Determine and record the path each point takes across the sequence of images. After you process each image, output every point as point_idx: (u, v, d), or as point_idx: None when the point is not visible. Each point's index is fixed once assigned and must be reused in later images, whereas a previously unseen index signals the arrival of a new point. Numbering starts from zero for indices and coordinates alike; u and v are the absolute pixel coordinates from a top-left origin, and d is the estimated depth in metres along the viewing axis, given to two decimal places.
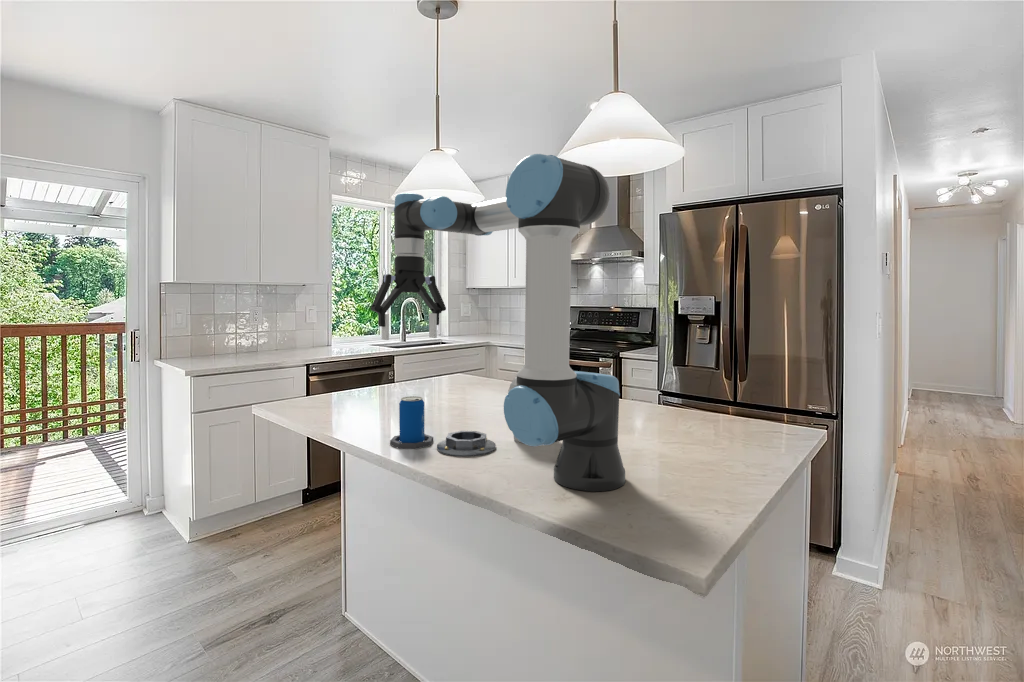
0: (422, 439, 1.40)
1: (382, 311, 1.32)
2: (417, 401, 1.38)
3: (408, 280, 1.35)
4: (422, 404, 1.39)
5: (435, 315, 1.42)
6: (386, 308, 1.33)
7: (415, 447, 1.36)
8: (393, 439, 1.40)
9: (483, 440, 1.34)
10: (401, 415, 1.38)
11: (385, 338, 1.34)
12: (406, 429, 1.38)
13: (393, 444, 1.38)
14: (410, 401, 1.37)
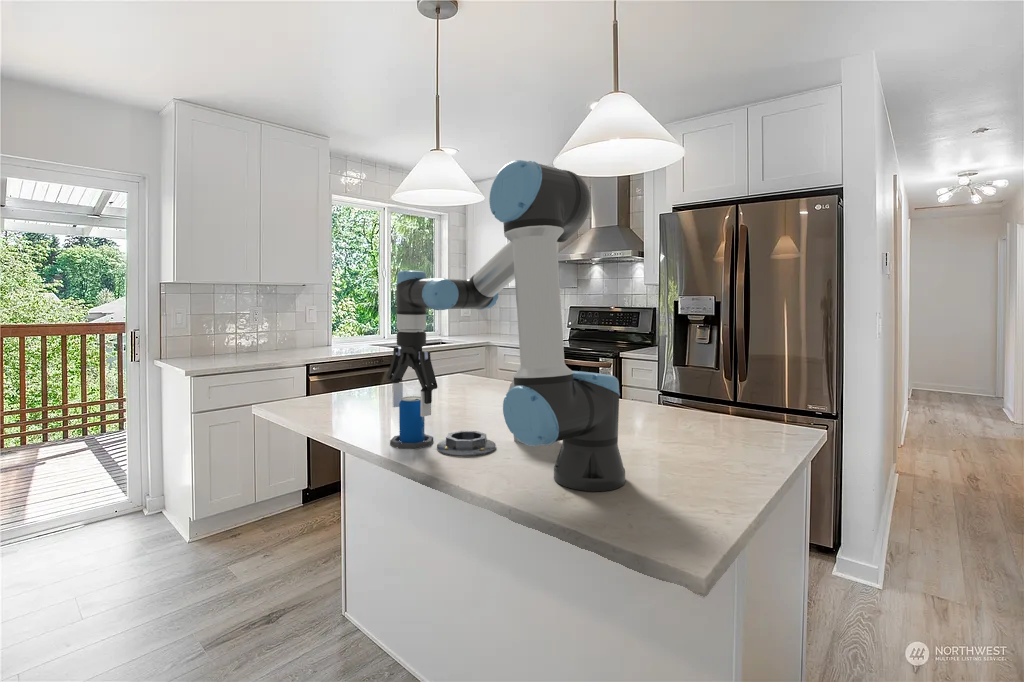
0: (422, 439, 1.40)
1: (391, 380, 1.45)
2: (417, 401, 1.38)
3: (402, 354, 1.39)
4: None
5: (421, 393, 1.34)
6: (393, 378, 1.44)
7: (415, 447, 1.36)
8: (393, 439, 1.40)
9: (483, 440, 1.34)
10: (401, 415, 1.38)
11: None
12: (406, 429, 1.38)
13: (393, 444, 1.38)
14: (410, 401, 1.37)
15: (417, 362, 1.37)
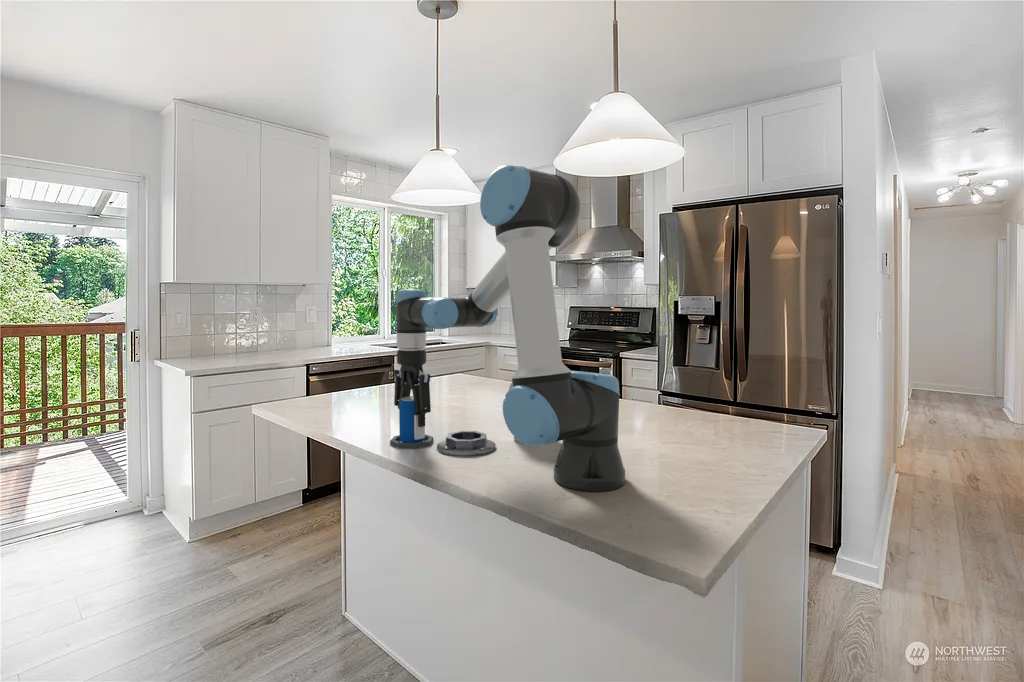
0: (422, 439, 1.40)
1: (398, 407, 1.43)
2: None
3: (402, 372, 1.39)
4: None
5: (415, 416, 1.37)
6: None
7: (415, 447, 1.36)
8: (393, 439, 1.40)
9: (483, 440, 1.34)
10: (401, 415, 1.38)
11: None
12: (406, 429, 1.38)
13: (393, 444, 1.38)
14: (410, 401, 1.37)
15: None
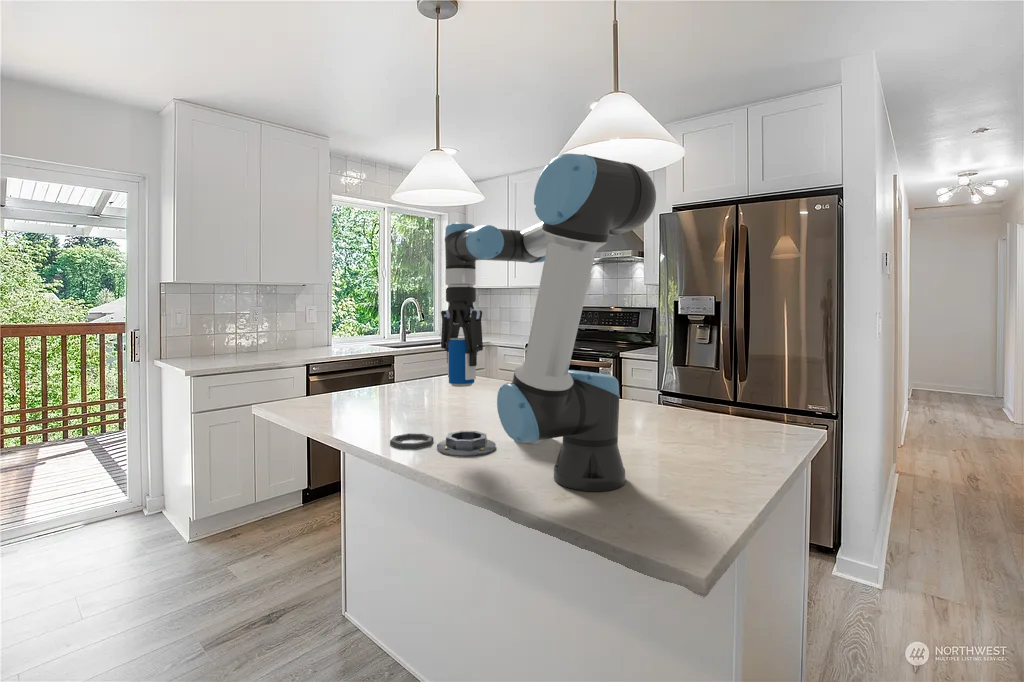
0: (473, 380, 1.34)
1: (445, 349, 1.38)
2: None
3: (451, 311, 1.34)
4: None
5: (466, 355, 1.32)
6: (447, 345, 1.37)
7: (415, 447, 1.36)
8: (393, 439, 1.40)
9: (483, 440, 1.34)
10: (451, 355, 1.33)
11: None
12: (457, 369, 1.32)
13: (393, 444, 1.38)
14: (461, 340, 1.32)
15: None
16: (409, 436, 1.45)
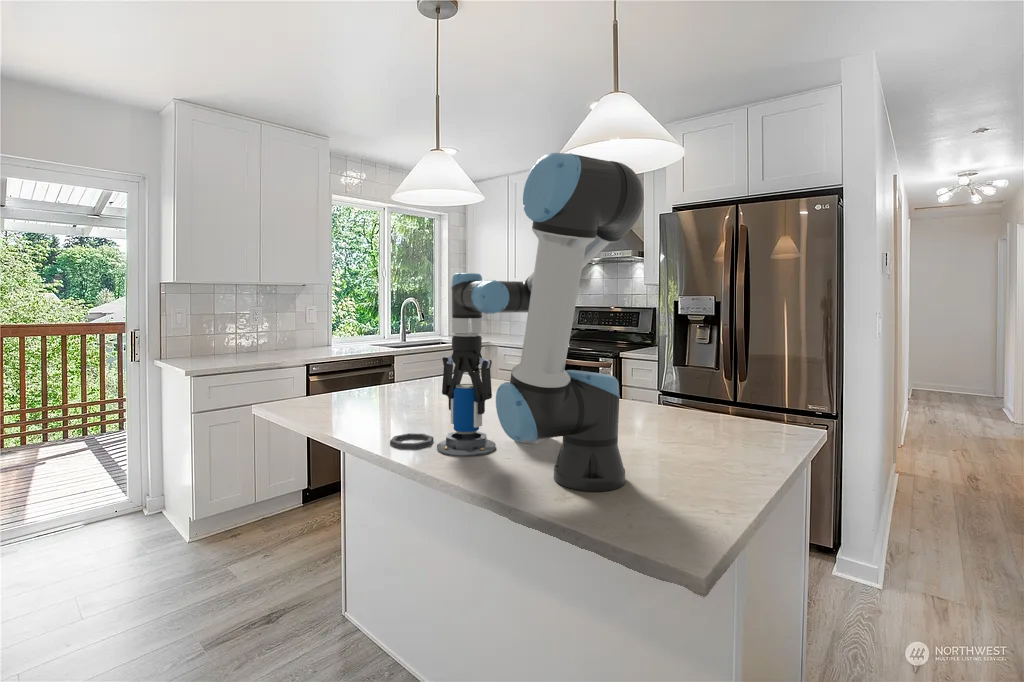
0: (478, 427, 1.37)
1: (448, 396, 1.37)
2: None
3: (457, 359, 1.34)
4: None
5: (475, 404, 1.33)
6: (450, 392, 1.37)
7: (415, 447, 1.36)
8: (393, 439, 1.40)
9: (483, 440, 1.34)
10: (459, 403, 1.33)
11: None
12: (466, 417, 1.33)
13: (393, 444, 1.38)
14: (469, 388, 1.33)
15: None
16: (409, 436, 1.45)
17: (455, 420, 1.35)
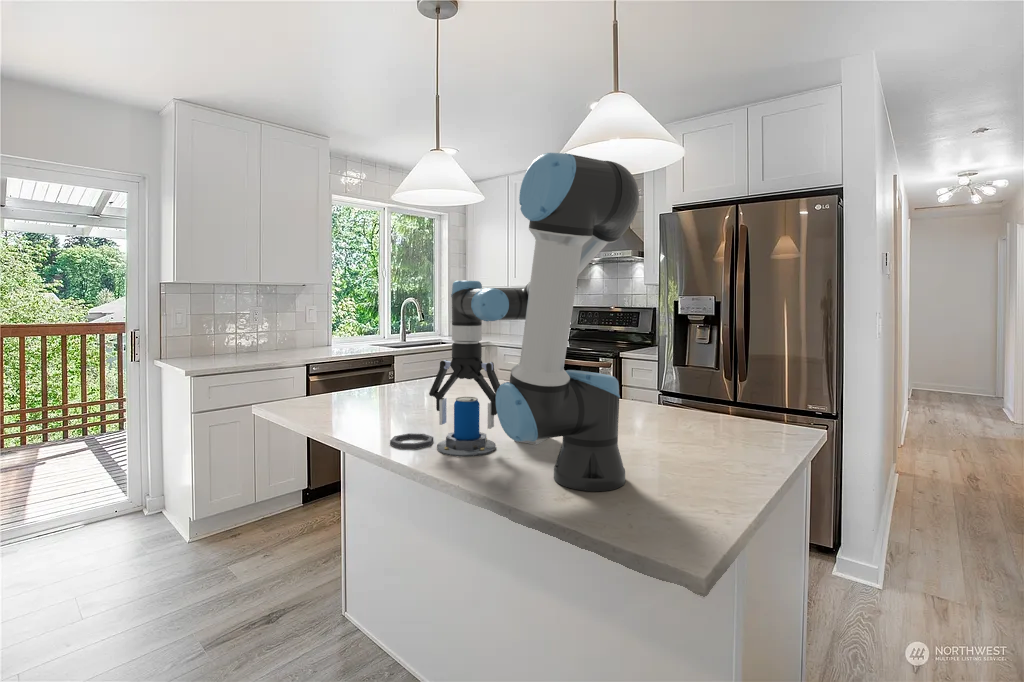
0: None
1: (436, 396, 1.37)
2: (477, 401, 1.35)
3: (458, 367, 1.34)
4: None
5: (489, 405, 1.33)
6: (440, 394, 1.37)
7: (415, 447, 1.36)
8: (393, 439, 1.40)
9: (483, 440, 1.34)
10: (462, 417, 1.33)
11: None
12: (469, 430, 1.34)
13: (393, 444, 1.38)
14: (472, 401, 1.34)
15: (477, 374, 1.35)
16: (409, 436, 1.45)
17: (457, 434, 1.34)
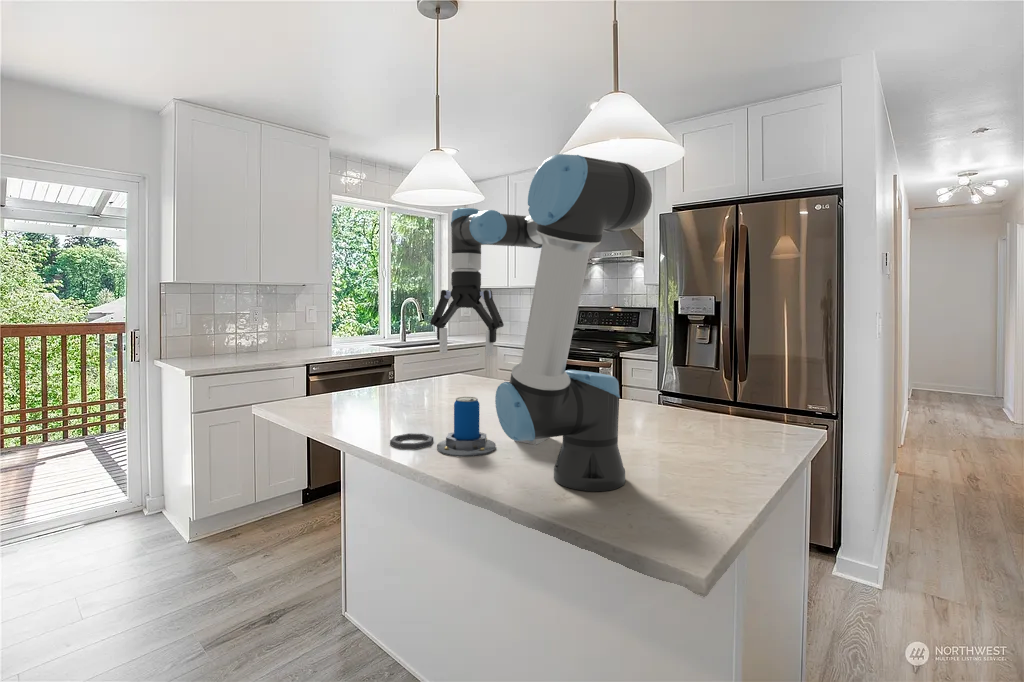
0: None
1: (436, 325, 1.39)
2: (477, 401, 1.35)
3: (457, 295, 1.35)
4: None
5: (487, 332, 1.33)
6: (440, 322, 1.39)
7: (415, 447, 1.36)
8: (393, 439, 1.40)
9: (483, 440, 1.34)
10: (462, 417, 1.33)
11: None
12: (469, 430, 1.34)
13: (393, 444, 1.38)
14: (472, 401, 1.34)
15: (476, 302, 1.35)
16: (409, 436, 1.45)
17: (457, 434, 1.34)
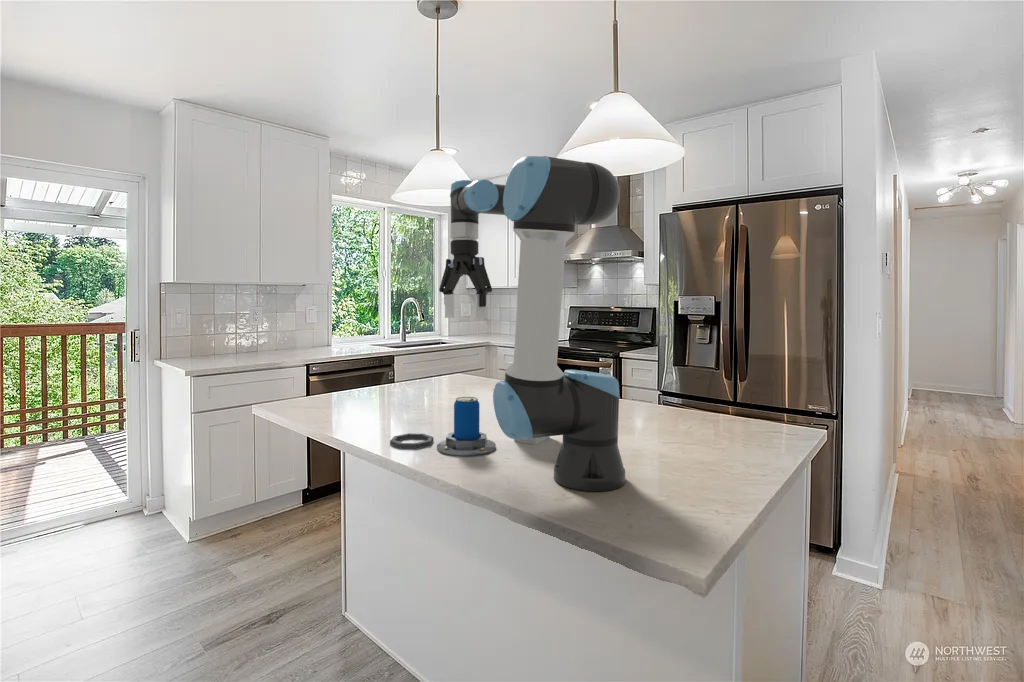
0: None
1: (443, 292, 1.51)
2: (477, 401, 1.35)
3: (455, 263, 1.45)
4: None
5: (476, 296, 1.40)
6: (445, 289, 1.50)
7: (415, 447, 1.36)
8: (393, 439, 1.40)
9: (483, 440, 1.34)
10: (462, 417, 1.33)
11: None
12: (469, 430, 1.34)
13: (393, 444, 1.38)
14: (472, 401, 1.34)
15: (471, 269, 1.43)
16: (409, 436, 1.45)
17: (457, 434, 1.34)
